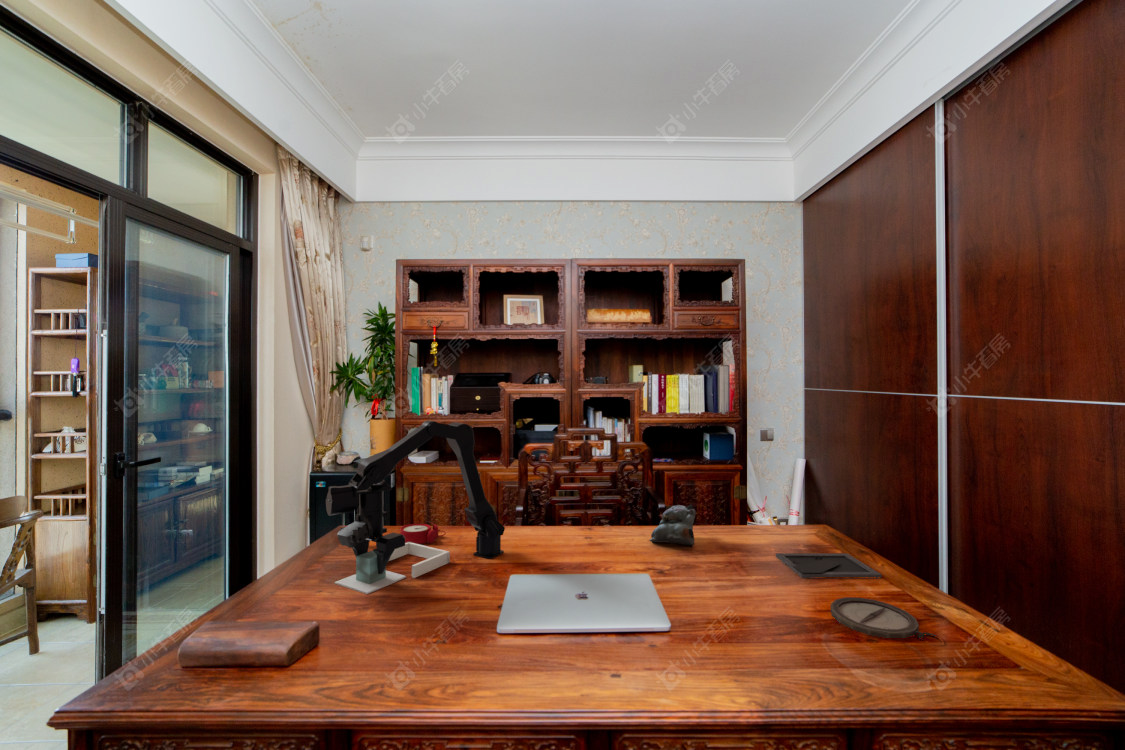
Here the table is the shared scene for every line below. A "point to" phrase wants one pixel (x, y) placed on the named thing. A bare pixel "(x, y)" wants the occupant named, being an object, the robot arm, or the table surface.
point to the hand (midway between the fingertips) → (371, 571)
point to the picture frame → (826, 565)
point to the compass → (875, 618)
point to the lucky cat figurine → (676, 526)
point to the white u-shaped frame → (432, 554)
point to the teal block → (368, 568)
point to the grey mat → (368, 588)
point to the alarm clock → (420, 533)
